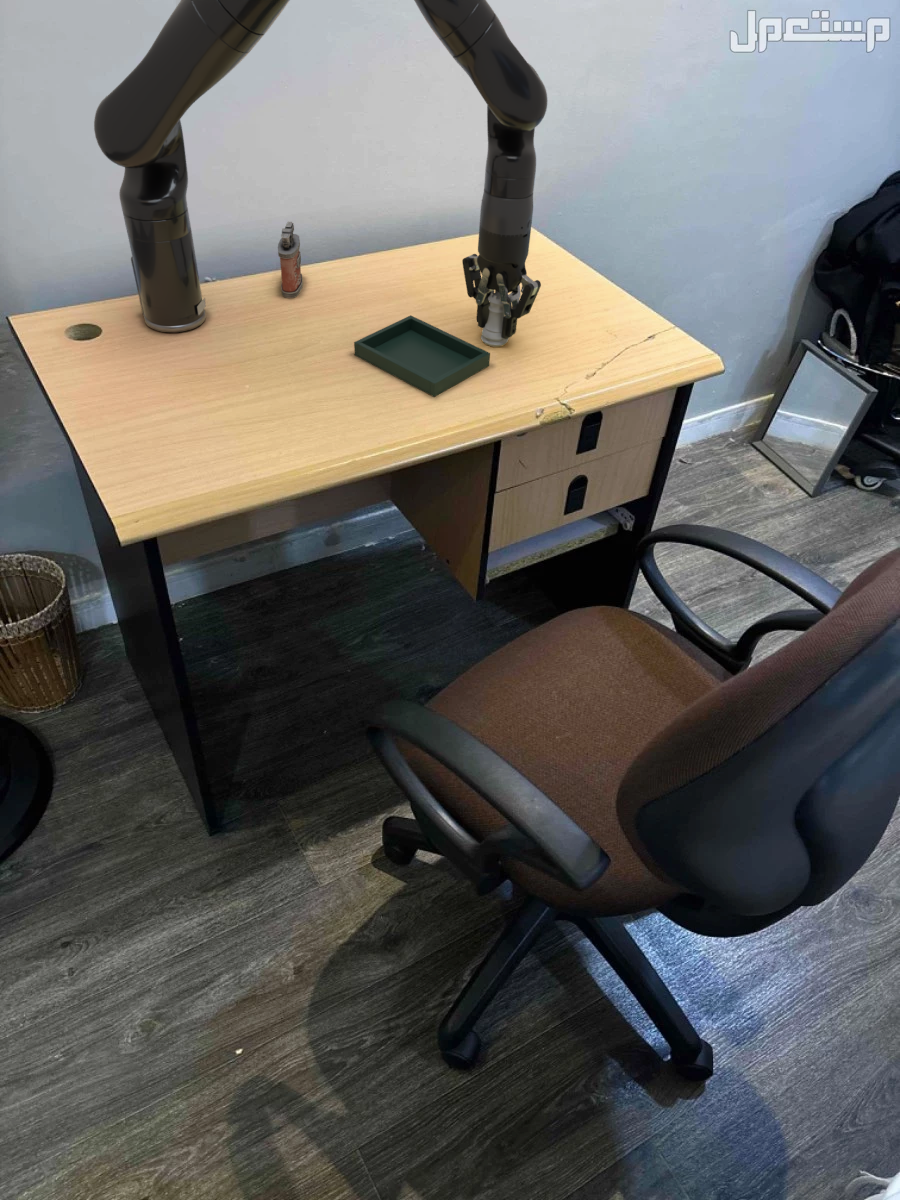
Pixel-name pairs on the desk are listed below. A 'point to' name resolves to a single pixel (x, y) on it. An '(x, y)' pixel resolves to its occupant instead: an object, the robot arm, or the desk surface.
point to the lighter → (290, 262)
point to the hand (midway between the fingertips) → (495, 331)
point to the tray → (422, 355)
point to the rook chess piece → (494, 322)
